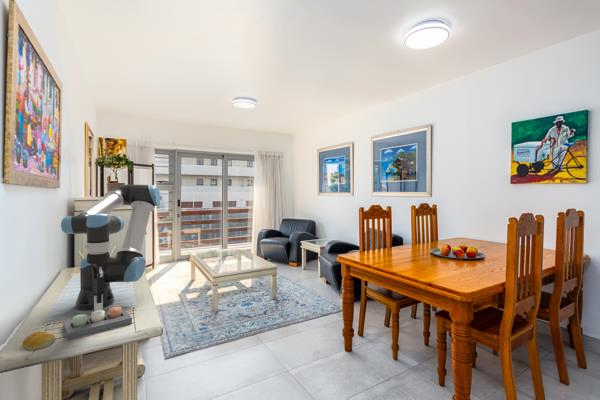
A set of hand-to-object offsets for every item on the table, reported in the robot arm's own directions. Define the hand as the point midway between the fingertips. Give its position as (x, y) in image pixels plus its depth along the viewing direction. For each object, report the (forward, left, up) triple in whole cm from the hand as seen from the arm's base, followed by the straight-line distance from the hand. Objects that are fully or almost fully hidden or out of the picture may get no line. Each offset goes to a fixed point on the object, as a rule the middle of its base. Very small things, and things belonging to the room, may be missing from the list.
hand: (98, 310), depth 121 cm
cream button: (0, 0, -5) cm, 5 cm away
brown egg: (0, +6, -5) cm, 8 cm away
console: (0, 0, -6) cm, 6 cm away
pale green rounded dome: (0, -6, -5) cm, 8 cm away
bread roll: (+4, -18, -7) cm, 20 cm away
